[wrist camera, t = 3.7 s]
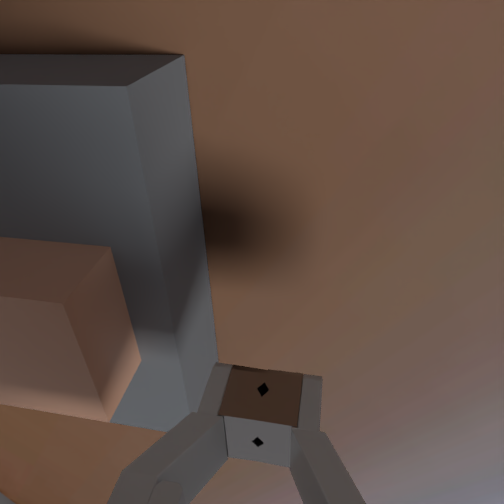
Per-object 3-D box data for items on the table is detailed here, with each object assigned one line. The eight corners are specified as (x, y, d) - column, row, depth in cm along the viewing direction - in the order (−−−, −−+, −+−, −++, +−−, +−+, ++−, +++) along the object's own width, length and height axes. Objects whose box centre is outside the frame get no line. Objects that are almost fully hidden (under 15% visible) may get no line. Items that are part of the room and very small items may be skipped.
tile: (-37, 233, 13) (-108, 283, 11) (110, 246, 12) (62, 303, 10) (19, 343, 16) (-28, 398, 14) (141, 360, 15) (109, 422, 13)
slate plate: (-185, 53, 15) (-333, 78, 12) (184, 54, 12) (126, 86, 9) (-25, 329, 23) (-86, 389, 20) (218, 362, 20) (194, 436, 17)
